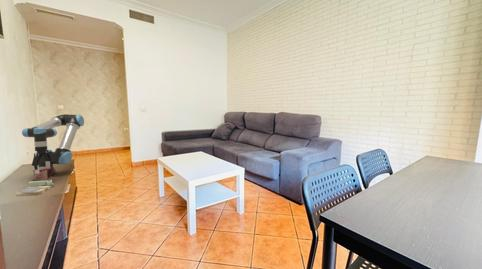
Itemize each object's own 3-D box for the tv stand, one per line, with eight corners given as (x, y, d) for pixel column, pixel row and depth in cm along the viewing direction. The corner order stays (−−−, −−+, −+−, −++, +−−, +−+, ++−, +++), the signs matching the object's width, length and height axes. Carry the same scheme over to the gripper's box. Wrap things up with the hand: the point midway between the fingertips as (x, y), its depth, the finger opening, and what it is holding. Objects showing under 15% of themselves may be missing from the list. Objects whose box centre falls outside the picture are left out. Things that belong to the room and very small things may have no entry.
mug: (37, 186, 174) (35, 170, 172) (31, 184, 177) (30, 168, 176) (56, 181, 185) (54, 166, 183) (50, 179, 189) (49, 165, 187)
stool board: (34, 186, 173) (33, 179, 172) (54, 185, 176) (53, 178, 175) (16, 196, 155) (15, 188, 155) (39, 194, 159) (38, 187, 158)
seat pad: (27, 187, 166) (27, 187, 166) (44, 187, 168) (43, 186, 168) (16, 193, 155) (16, 193, 155) (34, 192, 158) (34, 192, 158)
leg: (53, 183, 175) (52, 178, 174) (51, 185, 171) (50, 180, 171) (30, 185, 170) (29, 180, 169) (27, 186, 166) (27, 181, 166)
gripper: (35, 148, 166) (37, 175, 168) (55, 143, 190) (57, 166, 192) (24, 149, 164) (26, 175, 166) (45, 143, 188) (47, 167, 191)
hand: (42, 171), depth 179 cm, fingers open, 13 cm apart
